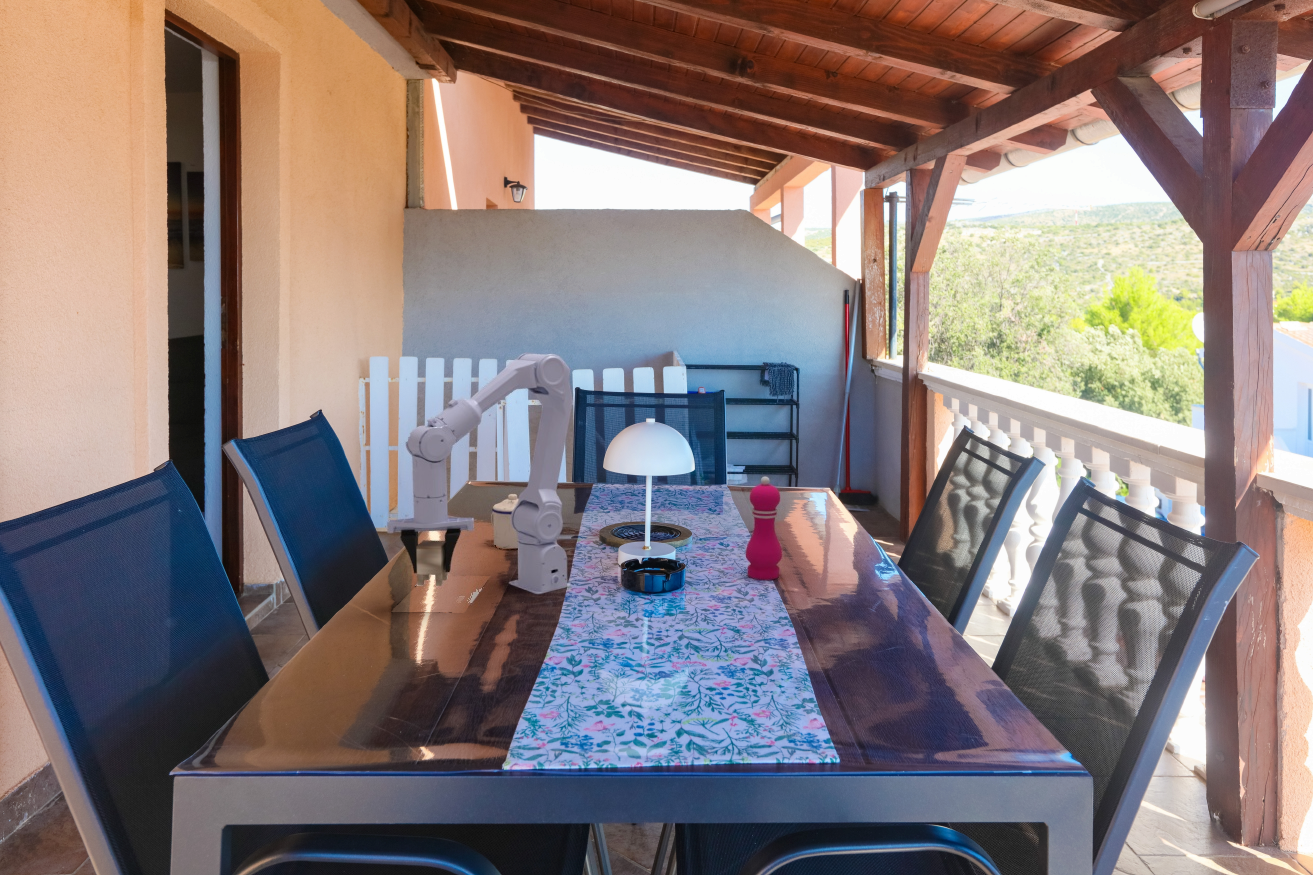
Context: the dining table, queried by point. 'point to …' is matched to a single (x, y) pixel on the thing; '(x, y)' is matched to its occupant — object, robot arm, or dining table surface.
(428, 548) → the beige notched block
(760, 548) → the pepper mill
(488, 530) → the dining table surface
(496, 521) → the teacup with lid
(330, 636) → the dining table surface
